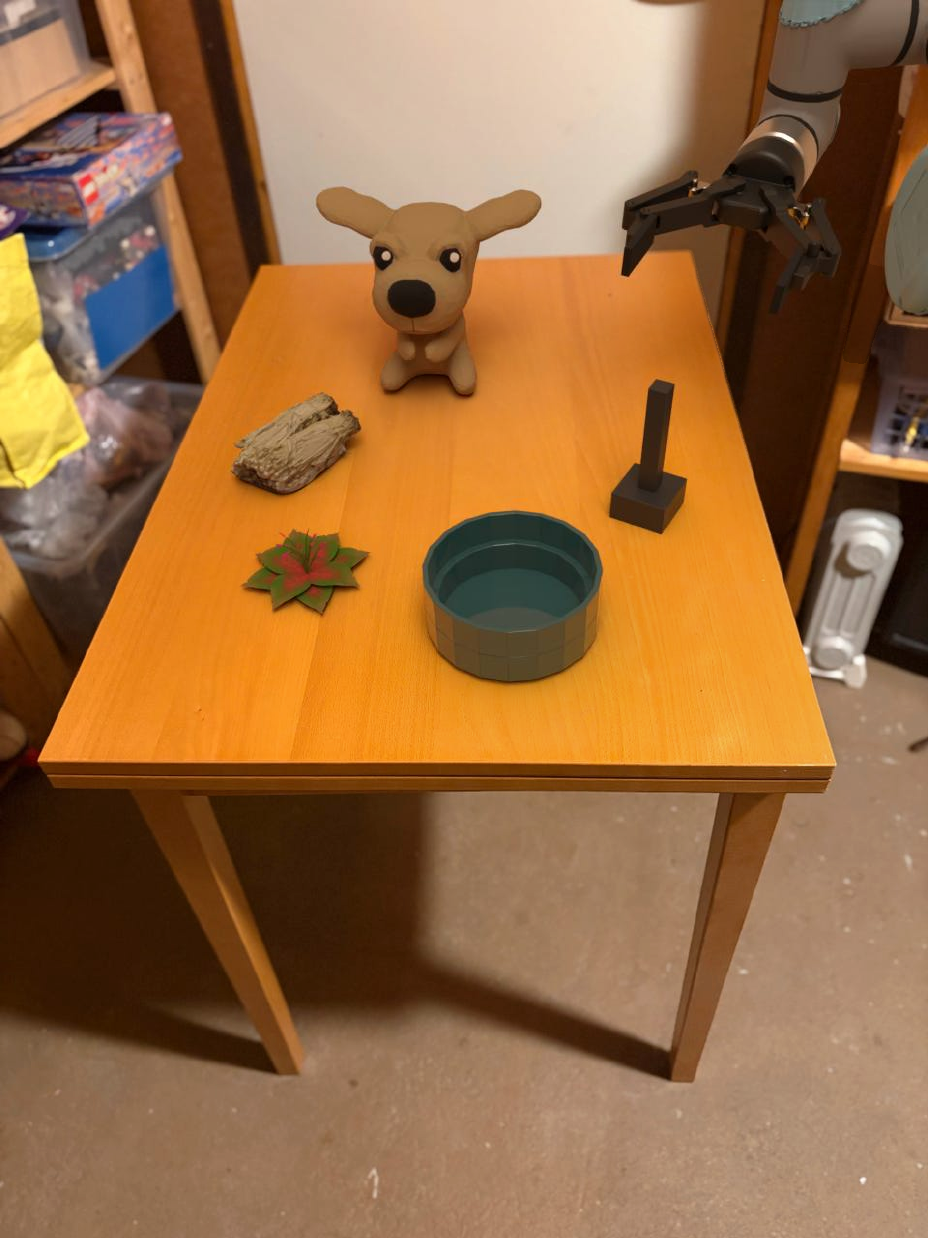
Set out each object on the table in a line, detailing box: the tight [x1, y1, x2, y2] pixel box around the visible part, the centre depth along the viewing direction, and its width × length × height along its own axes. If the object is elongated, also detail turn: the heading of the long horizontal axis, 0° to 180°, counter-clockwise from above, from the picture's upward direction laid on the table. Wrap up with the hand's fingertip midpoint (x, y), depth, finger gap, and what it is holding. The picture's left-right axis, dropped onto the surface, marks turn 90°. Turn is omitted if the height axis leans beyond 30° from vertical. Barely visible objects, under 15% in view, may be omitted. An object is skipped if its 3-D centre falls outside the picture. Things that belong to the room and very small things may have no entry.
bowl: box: [421, 509, 604, 682], centre depth 80 cm, size 15×15×6 cm
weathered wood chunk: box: [229, 391, 362, 494], centre depth 99 cm, size 14×10×5 cm, turn 142°
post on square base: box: [608, 378, 688, 534], centre depth 87 cm, size 6×6×14 cm
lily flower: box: [239, 528, 372, 615], centre depth 86 cm, size 12×12×5 cm
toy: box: [315, 186, 543, 395], centre depth 105 cm, size 25×20×20 cm
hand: (699, 280), depth 81 cm, fingers open, 13 cm apart
